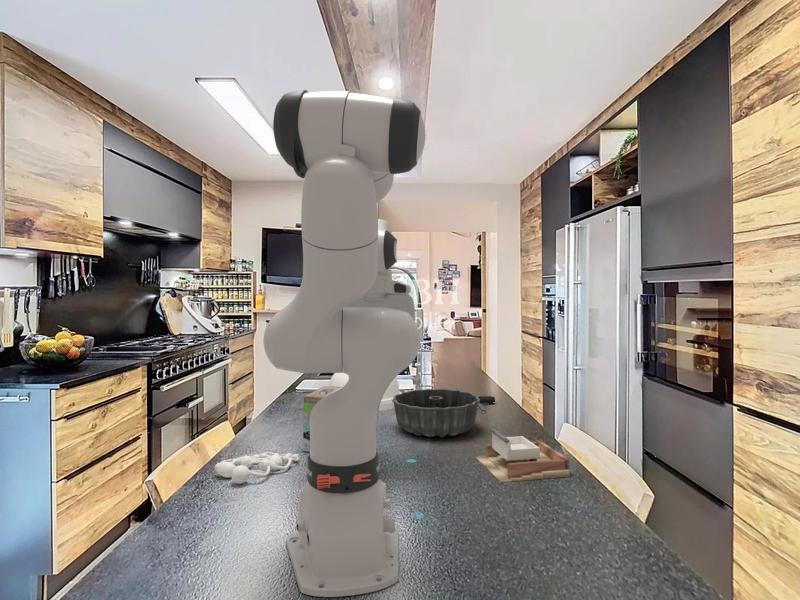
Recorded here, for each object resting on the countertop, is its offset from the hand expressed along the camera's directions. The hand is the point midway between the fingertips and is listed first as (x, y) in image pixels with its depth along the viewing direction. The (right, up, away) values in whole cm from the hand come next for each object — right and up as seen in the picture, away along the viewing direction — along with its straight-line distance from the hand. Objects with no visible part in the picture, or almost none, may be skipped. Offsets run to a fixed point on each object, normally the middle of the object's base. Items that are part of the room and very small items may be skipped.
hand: (374, 343), depth 115 cm
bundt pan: (+17, -29, +27) cm, 43 cm away
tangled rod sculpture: (-27, -30, -5) cm, 41 cm away
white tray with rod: (+34, -28, -3) cm, 44 cm away
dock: (+35, -29, -3) cm, 46 cm away
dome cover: (-7, -29, +63) cm, 69 cm away
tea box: (-13, -29, +13) cm, 34 cm away
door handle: (+32, -29, +54) cm, 69 cm away
